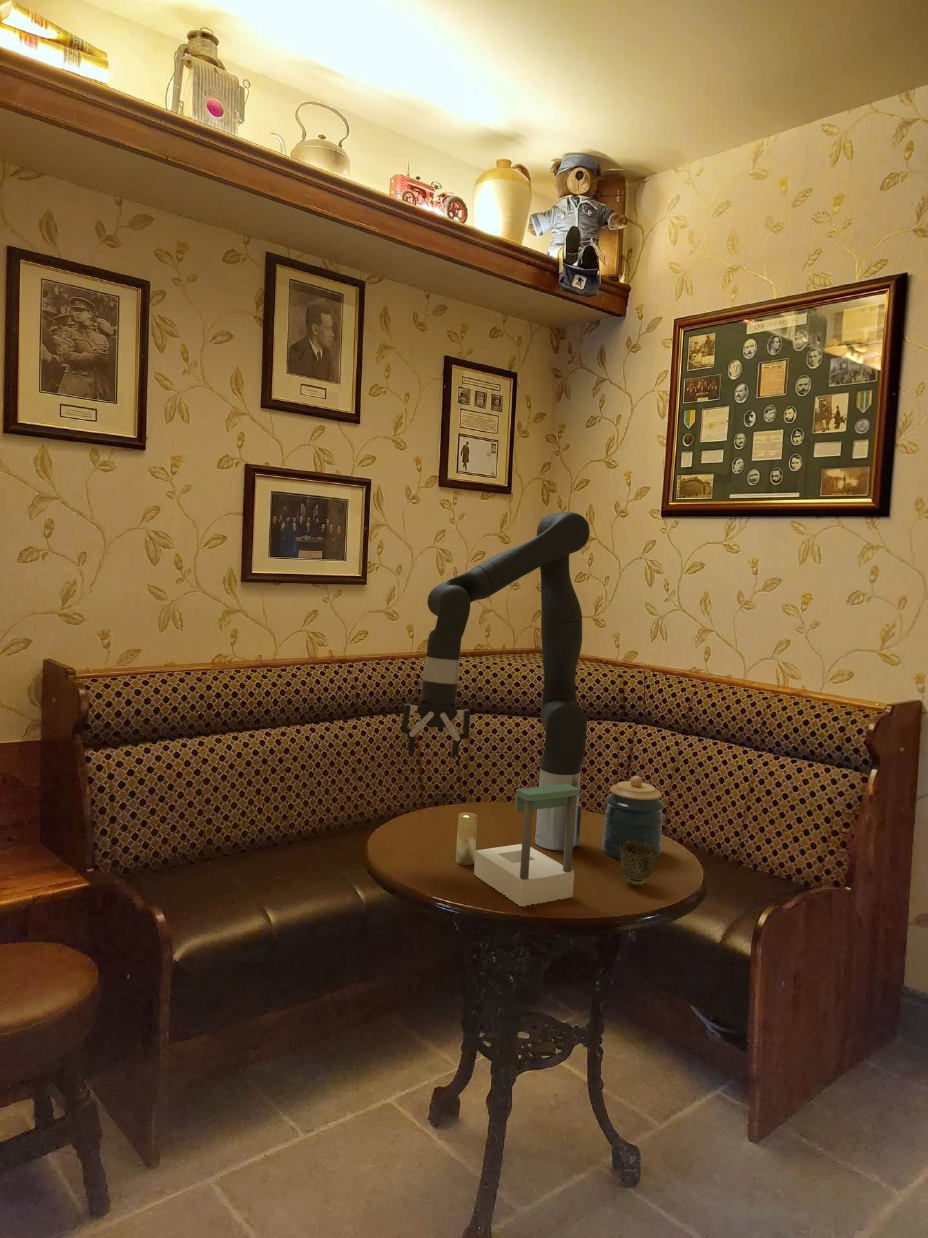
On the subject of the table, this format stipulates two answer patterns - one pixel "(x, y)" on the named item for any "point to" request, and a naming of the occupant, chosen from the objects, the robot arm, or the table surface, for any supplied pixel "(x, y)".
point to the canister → (632, 816)
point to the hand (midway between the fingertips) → (432, 756)
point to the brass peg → (466, 838)
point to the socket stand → (532, 853)
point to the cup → (637, 862)
